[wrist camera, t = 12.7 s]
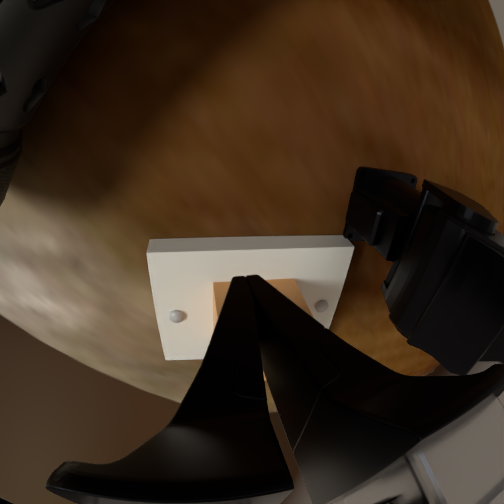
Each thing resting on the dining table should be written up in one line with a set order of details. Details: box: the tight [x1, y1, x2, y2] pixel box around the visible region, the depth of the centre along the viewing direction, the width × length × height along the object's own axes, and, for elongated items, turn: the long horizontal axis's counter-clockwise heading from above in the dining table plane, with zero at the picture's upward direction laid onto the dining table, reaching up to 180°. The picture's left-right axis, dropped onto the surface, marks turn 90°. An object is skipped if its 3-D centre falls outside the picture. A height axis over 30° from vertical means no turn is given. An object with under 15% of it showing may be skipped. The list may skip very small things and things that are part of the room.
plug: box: [213, 278, 314, 381], centre depth 22 cm, size 6×6×7 cm
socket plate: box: [147, 235, 354, 360], centre depth 24 cm, size 16×12×2 cm
